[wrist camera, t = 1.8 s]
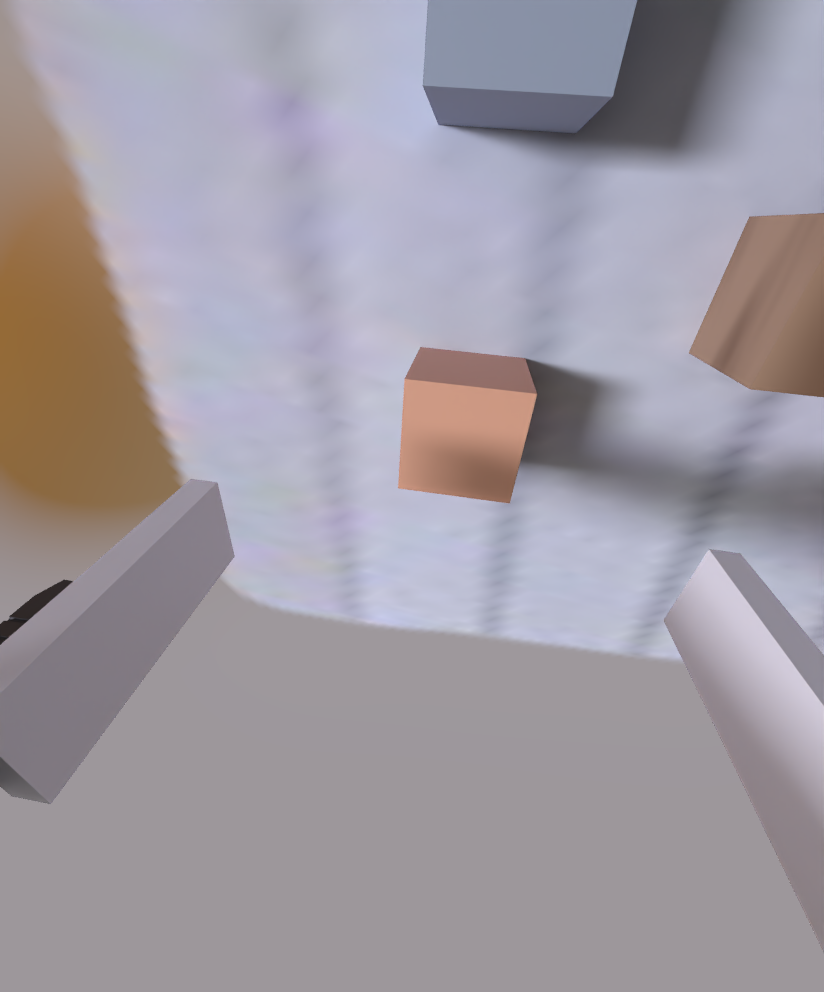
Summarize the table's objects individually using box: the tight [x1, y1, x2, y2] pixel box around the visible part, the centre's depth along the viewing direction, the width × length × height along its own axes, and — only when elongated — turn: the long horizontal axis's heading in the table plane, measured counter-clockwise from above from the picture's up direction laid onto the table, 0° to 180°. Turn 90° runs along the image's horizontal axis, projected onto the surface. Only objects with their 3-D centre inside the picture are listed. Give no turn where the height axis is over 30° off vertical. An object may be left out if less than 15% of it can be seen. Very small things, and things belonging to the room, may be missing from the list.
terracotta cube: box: [398, 347, 537, 503], centre depth 19 cm, size 5×5×5 cm
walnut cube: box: [689, 213, 824, 397], centre depth 14 cm, size 5×5×5 cm
